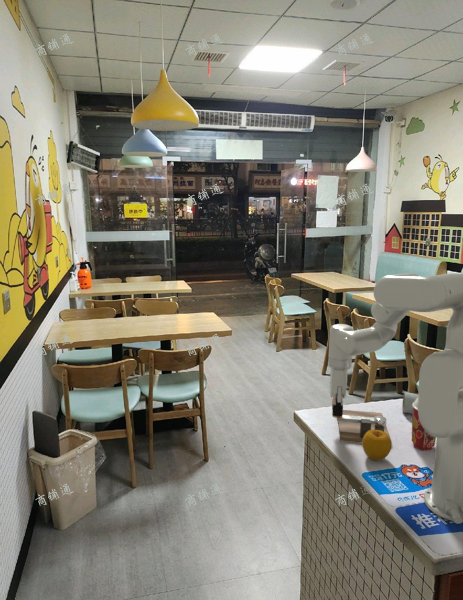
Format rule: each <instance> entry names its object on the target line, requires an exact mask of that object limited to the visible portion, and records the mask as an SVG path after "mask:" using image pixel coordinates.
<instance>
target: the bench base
mask: <svg viewBox="0 0 463 600" xmlns="http://www.w3.org/2000/svg"><path fill="white" fill-rule="evenodd" d="M343 415H349V416H360V417H372V418H374V417H375V416H382V417H384V416H383V413H382V412H374V411H365V410H364V411H363V410H362V411H361V410H350V409H343ZM337 427H338V434H339V441H340V442H348V443H350V442H352V443H360V444H362V440H363V437H364V435H365V433H366V432H367V431H369V430H381V431H383V432H385V433H386V434H388V435H389V437H390V433H389V429H388V427H387V425H386V426H385V427H377V426H375V425H374V424H371V420H370V419H361V423H354V422H343V421H337ZM390 438H391V437H390Z"/></svg>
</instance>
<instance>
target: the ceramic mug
mask: <svg viewBox="0 0 463 600" xmlns="http://www.w3.org/2000/svg"><path fill="white" fill-rule="evenodd" d="M417 398H418V393H412V392H408V391H404V392H403V395H402V404H401V405H402V406H401V412H402V413H403V414H404V413H405V414H411V415H412V407H413V406H412V404H413V403H414V402H415V400H416V399H417Z"/></svg>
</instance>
